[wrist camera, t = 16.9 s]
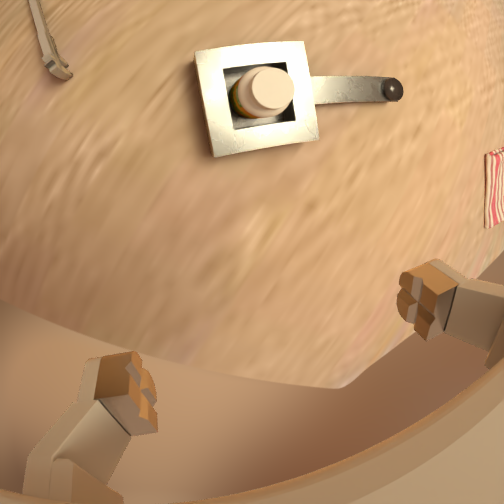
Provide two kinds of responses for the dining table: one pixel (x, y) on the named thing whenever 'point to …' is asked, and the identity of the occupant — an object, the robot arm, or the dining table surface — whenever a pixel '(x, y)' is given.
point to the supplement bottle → (261, 93)
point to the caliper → (48, 44)
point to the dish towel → (494, 188)
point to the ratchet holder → (299, 109)
